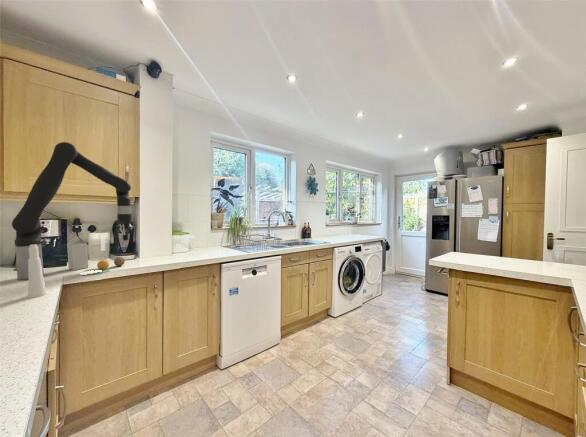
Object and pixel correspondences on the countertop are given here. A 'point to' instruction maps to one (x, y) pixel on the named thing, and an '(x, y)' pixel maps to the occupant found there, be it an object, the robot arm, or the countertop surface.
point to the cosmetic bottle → (35, 274)
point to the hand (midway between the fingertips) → (125, 240)
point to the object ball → (103, 264)
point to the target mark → (98, 272)
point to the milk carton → (77, 254)
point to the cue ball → (119, 261)
